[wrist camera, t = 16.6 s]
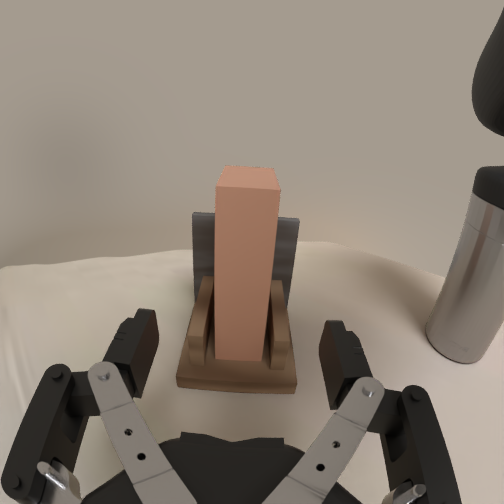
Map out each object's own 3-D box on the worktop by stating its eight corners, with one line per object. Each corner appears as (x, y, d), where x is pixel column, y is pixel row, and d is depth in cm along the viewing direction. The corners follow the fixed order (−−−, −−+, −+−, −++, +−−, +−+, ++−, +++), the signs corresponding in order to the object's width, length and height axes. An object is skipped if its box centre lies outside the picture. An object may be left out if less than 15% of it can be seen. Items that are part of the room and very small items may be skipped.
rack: (294, 393, 24) (321, 282, 19) (177, 386, 24) (161, 273, 18) (284, 310, 34) (297, 215, 29) (197, 305, 34) (195, 209, 29)
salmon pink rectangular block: (261, 361, 25) (280, 190, 18) (215, 359, 25) (215, 186, 18) (259, 311, 32) (273, 167, 25) (222, 309, 32) (225, 164, 25)
